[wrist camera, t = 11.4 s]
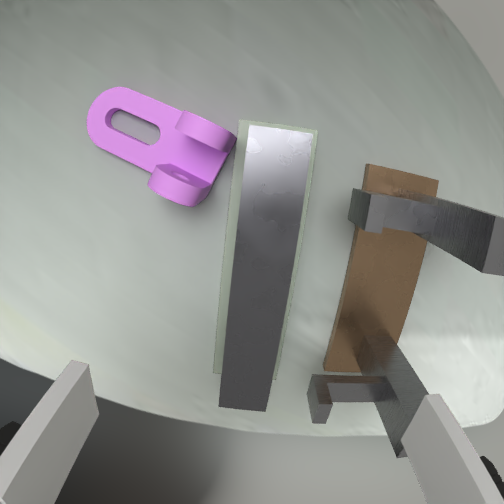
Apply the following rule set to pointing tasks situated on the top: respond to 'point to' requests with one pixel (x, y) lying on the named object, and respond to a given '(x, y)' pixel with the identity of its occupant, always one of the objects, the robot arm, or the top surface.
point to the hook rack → (394, 290)
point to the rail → (263, 262)
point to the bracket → (163, 144)
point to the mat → (232, 230)
